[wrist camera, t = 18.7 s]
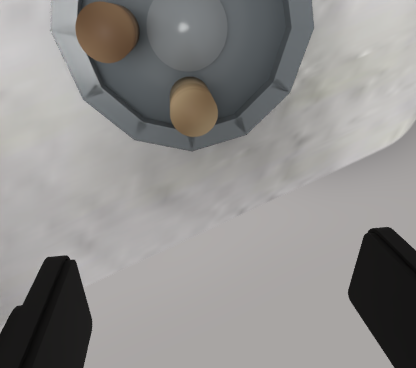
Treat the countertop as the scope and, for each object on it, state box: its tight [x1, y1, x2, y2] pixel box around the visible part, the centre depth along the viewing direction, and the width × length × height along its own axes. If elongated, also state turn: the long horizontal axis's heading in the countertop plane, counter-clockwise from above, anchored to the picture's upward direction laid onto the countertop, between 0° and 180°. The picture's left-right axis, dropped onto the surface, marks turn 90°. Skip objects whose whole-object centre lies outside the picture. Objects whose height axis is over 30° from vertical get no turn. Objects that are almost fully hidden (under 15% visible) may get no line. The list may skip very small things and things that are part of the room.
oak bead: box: [170, 77, 218, 137], centre depth 28 cm, size 4×4×6 cm
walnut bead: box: [75, 1, 140, 63], centre depth 25 cm, size 4×4×6 cm
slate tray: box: [50, 0, 314, 151], centre depth 28 cm, size 23×23×3 cm
